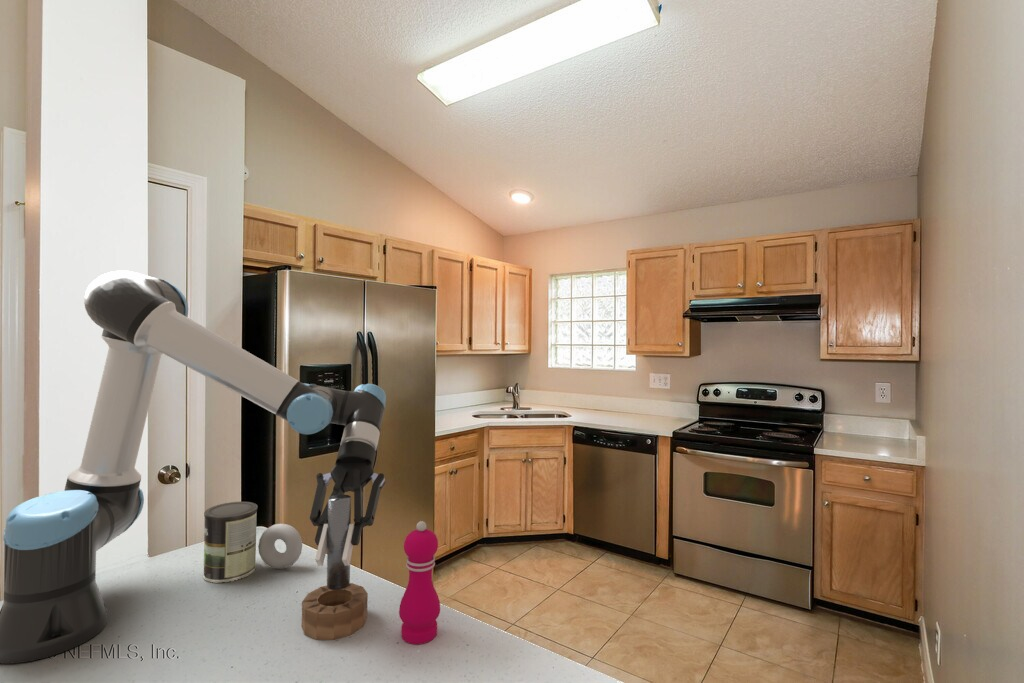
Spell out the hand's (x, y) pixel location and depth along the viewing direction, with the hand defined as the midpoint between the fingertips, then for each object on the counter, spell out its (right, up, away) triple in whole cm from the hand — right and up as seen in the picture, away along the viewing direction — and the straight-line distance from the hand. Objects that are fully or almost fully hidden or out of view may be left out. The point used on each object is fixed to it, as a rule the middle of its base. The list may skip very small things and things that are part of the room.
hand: (332, 562), depth 88 cm
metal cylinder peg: (0, -6, +4) cm, 7 cm away
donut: (-21, -13, +25) cm, 35 cm away
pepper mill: (+15, -13, 0) cm, 20 cm away
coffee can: (-31, -12, +22) cm, 40 cm away
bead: (-1, -13, +4) cm, 13 cm away
